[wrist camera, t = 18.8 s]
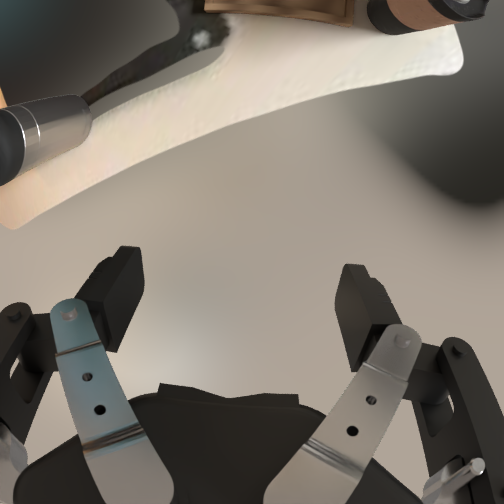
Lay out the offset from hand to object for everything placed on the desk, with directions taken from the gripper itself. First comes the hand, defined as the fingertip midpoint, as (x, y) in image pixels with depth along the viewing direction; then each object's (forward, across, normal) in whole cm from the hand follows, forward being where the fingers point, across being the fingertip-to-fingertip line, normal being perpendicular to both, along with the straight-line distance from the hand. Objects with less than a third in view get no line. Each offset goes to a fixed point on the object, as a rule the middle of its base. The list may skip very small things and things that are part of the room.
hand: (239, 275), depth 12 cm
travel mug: (+36, -18, -22) cm, 46 cm away
